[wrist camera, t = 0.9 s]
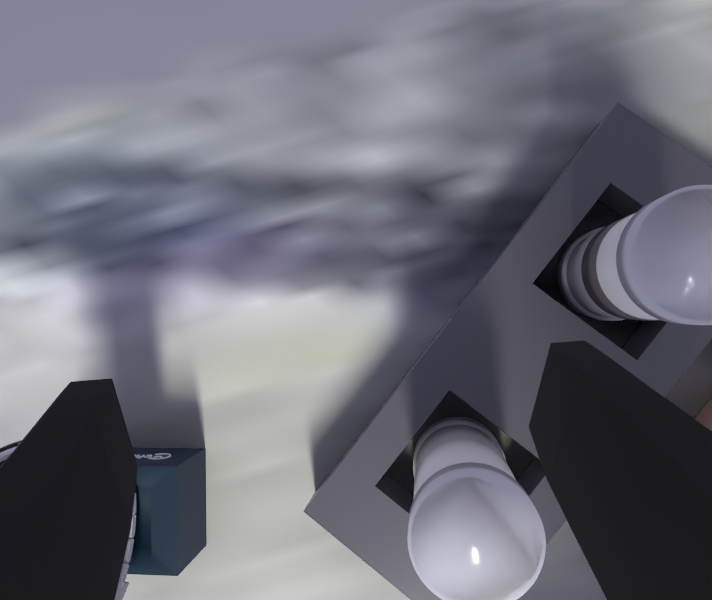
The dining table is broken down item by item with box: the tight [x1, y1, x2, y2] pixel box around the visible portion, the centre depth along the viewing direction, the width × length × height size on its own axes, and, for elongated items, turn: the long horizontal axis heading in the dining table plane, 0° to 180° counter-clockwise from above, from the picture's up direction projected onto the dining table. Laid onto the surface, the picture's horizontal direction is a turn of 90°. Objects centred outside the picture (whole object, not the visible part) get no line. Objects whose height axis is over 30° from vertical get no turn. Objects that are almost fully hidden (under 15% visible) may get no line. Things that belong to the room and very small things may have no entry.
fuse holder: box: [304, 103, 712, 600], centre depth 24 cm, size 8×20×2 cm, turn 143°
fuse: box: [407, 417, 546, 600], centre depth 21 cm, size 4×4×9 cm
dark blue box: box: [0, 440, 206, 600], centre depth 22 cm, size 6×8×11 cm
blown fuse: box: [557, 185, 712, 325], centre depth 21 cm, size 4×4×9 cm
